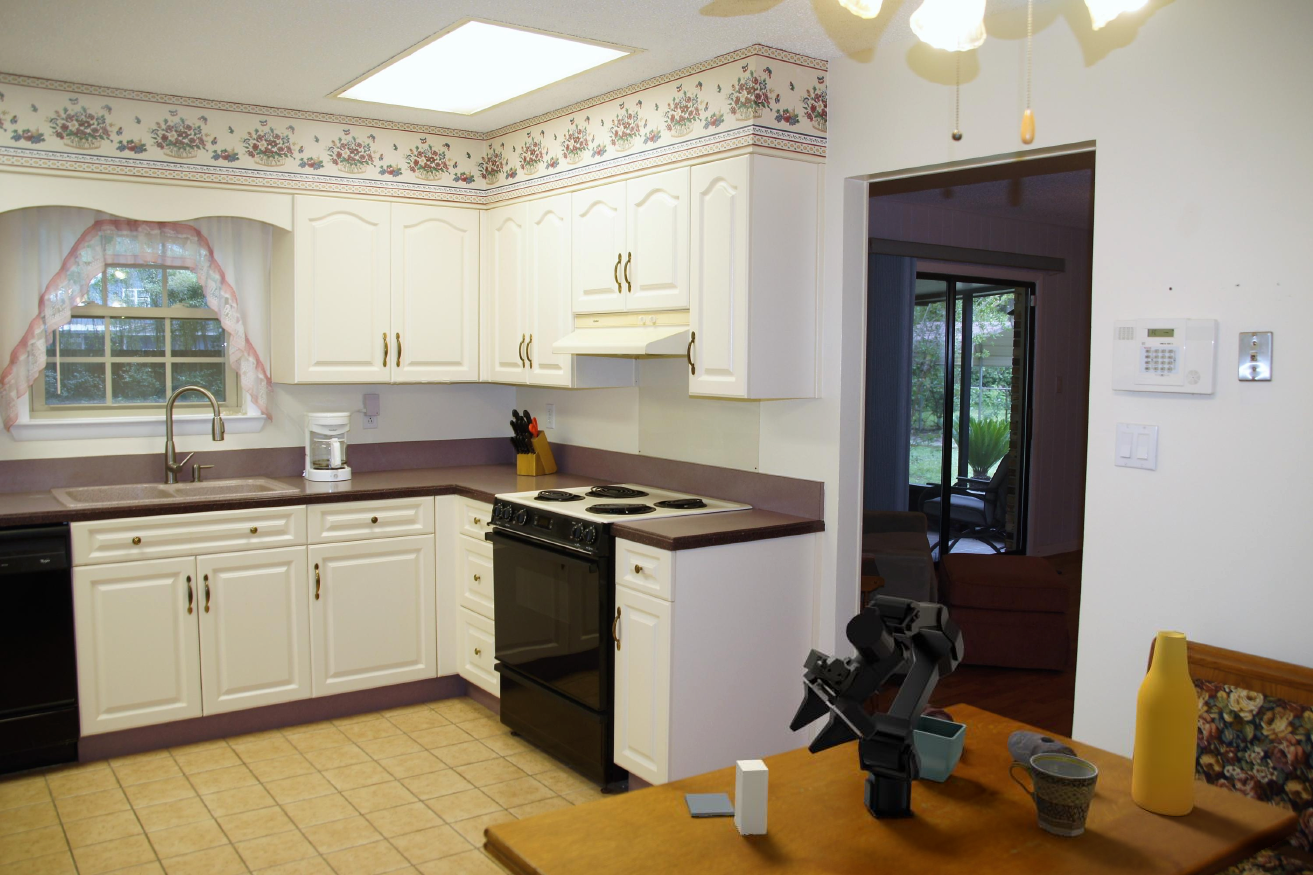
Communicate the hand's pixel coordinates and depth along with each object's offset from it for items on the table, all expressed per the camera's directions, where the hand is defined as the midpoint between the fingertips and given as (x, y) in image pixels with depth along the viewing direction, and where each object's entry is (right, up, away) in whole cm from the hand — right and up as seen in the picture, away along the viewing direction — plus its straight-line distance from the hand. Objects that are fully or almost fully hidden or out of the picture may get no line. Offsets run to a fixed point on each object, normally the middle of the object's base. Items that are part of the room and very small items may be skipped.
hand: (800, 740), depth 152 cm
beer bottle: (+62, -15, +12) cm, 65 cm away
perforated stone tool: (+46, -14, +25) cm, 55 cm away
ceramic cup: (+40, -15, +3) cm, 43 cm away
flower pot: (+27, -13, +22) cm, 37 cm away
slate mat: (-14, -13, +7) cm, 20 cm away
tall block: (-8, -13, -1) cm, 16 cm away
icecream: (+32, -12, +38) cm, 51 cm away
